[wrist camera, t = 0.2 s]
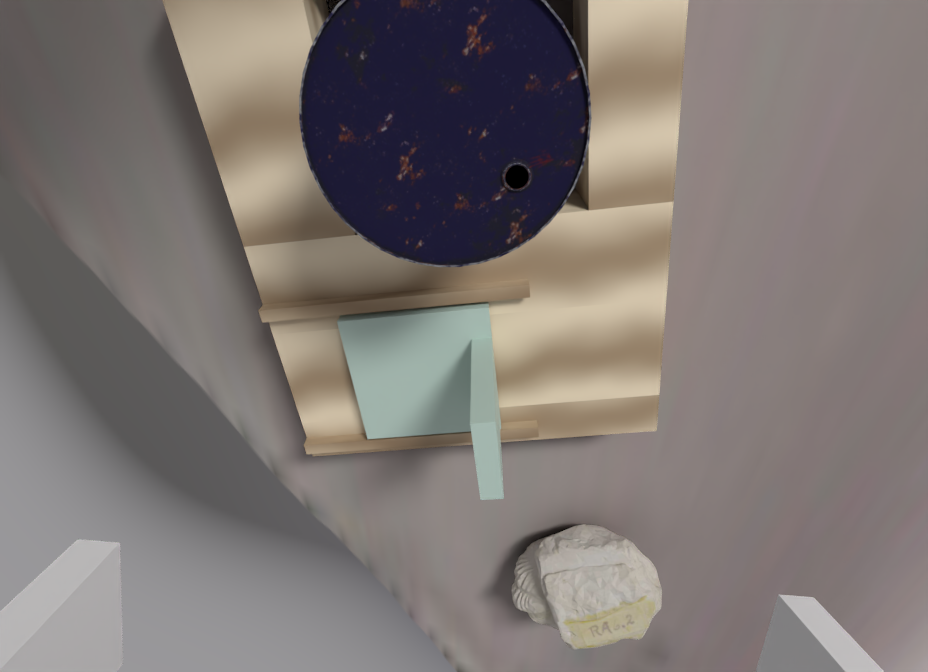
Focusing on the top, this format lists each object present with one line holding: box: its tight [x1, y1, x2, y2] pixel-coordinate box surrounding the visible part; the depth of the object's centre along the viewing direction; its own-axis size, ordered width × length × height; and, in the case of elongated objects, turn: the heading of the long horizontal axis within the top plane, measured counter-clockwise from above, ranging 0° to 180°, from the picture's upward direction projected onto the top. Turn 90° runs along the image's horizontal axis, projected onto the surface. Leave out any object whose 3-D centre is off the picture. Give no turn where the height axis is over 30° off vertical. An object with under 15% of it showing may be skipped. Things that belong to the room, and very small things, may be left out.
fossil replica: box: [511, 524, 662, 649], centre depth 46 cm, size 12×8×10 cm
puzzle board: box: [162, 0, 688, 456], centre depth 32 cm, size 30×24×5 cm
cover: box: [337, 302, 504, 500], centre depth 31 cm, size 9×9×9 cm
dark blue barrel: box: [299, 0, 592, 267], centre depth 25 cm, size 10×10×15 cm
